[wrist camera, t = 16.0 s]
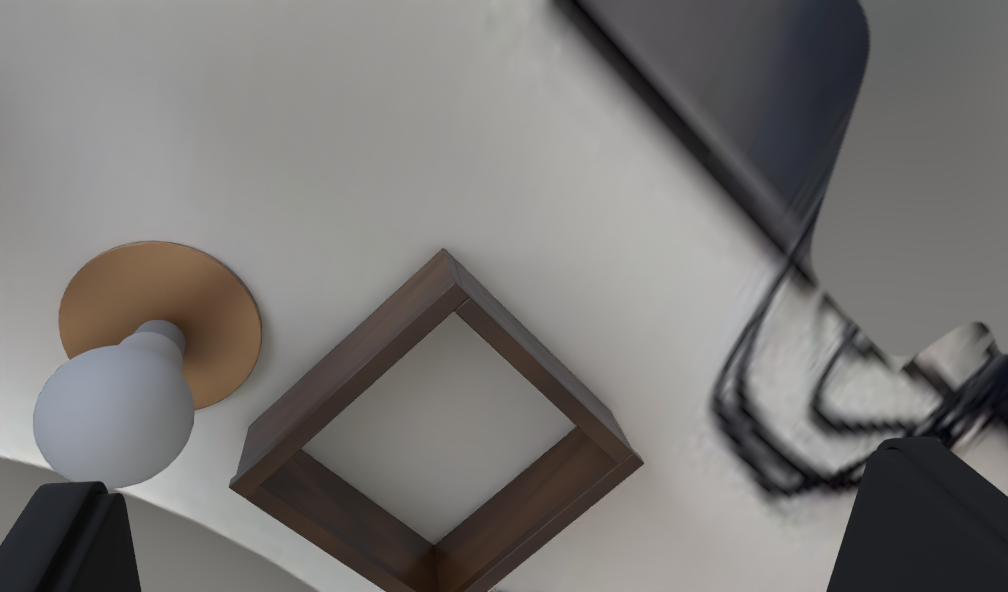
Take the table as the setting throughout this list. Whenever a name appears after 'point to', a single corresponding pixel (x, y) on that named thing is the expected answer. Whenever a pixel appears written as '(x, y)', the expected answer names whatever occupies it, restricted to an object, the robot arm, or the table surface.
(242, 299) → the coaster
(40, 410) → the lightbulb
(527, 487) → the wooden frame
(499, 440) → the table surface
